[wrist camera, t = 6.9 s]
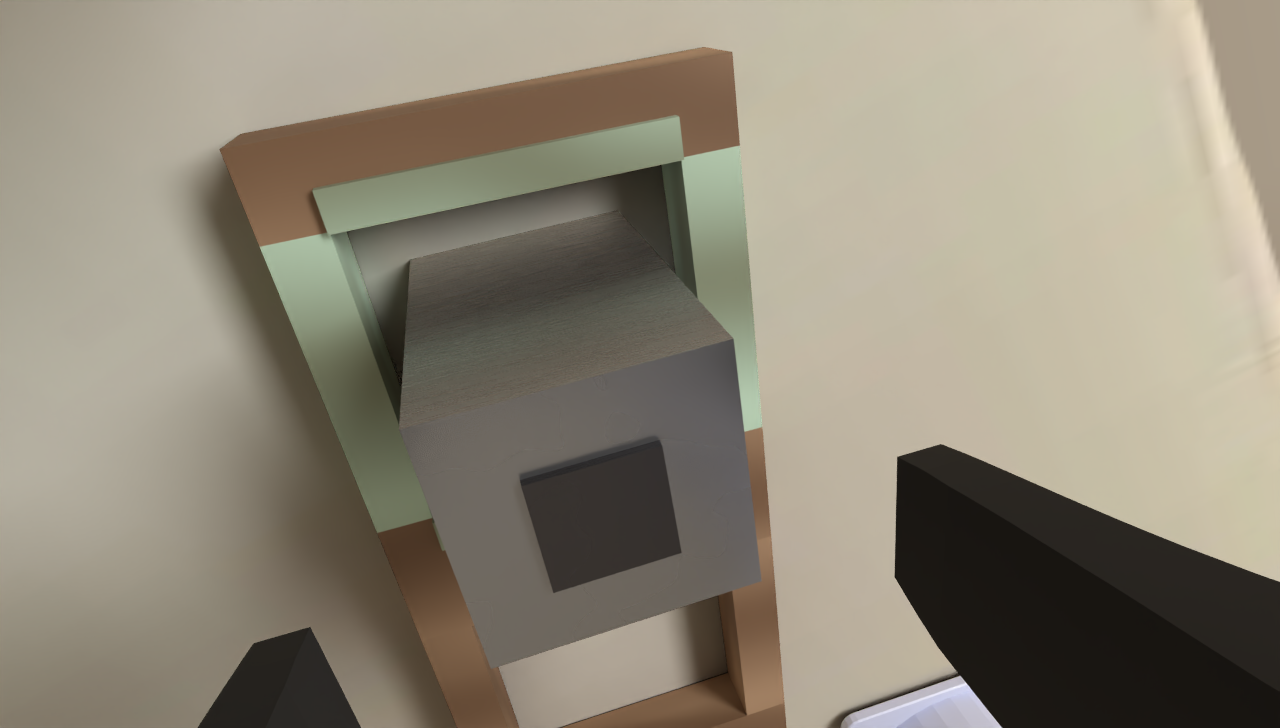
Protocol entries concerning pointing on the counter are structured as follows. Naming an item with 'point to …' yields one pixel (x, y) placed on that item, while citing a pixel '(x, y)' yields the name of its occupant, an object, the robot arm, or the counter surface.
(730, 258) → the tray
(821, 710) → the counter surface
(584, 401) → the block
